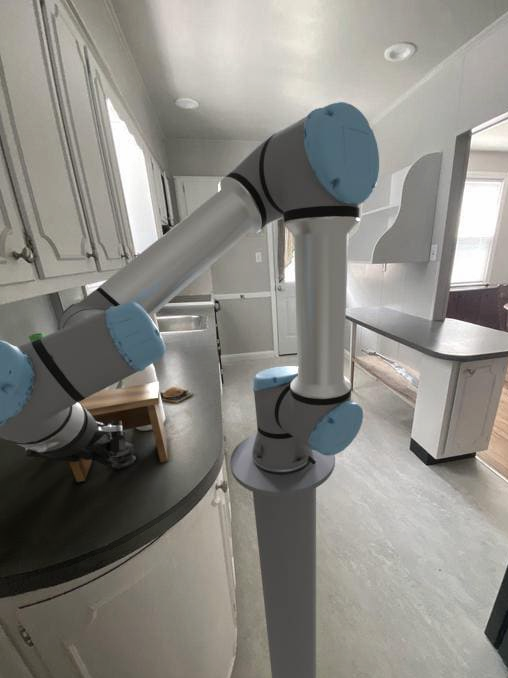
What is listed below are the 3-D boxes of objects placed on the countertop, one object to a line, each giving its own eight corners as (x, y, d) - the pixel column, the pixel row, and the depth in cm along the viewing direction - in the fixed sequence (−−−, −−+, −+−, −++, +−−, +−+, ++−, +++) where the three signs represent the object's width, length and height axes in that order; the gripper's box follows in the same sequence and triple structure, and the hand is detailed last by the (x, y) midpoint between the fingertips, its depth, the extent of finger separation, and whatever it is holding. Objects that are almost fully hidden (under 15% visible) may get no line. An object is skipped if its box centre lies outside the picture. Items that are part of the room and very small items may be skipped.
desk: (172, 460, 74) (157, 397, 68) (71, 483, 67) (45, 416, 61) (170, 439, 83) (158, 382, 76) (82, 458, 76) (59, 397, 70)
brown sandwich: (194, 395, 110) (193, 385, 109) (176, 404, 103) (174, 394, 102) (173, 390, 115) (172, 381, 113) (155, 398, 108) (153, 389, 106)
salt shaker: (138, 452, 78) (127, 411, 73) (134, 466, 72) (122, 422, 68) (113, 456, 76) (100, 414, 72) (107, 471, 71) (93, 427, 66)
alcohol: (153, 414, 97) (131, 320, 85) (172, 420, 93) (151, 322, 81) (128, 427, 90) (100, 326, 78) (147, 434, 86) (120, 329, 74)
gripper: (-12, 465, 36) (71, 486, 57) (111, 439, 40) (146, 467, 61) (-9, 406, 38) (69, 447, 59) (107, 388, 42) (142, 432, 63)
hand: (108, 457), depth 60 cm, fingers closed
